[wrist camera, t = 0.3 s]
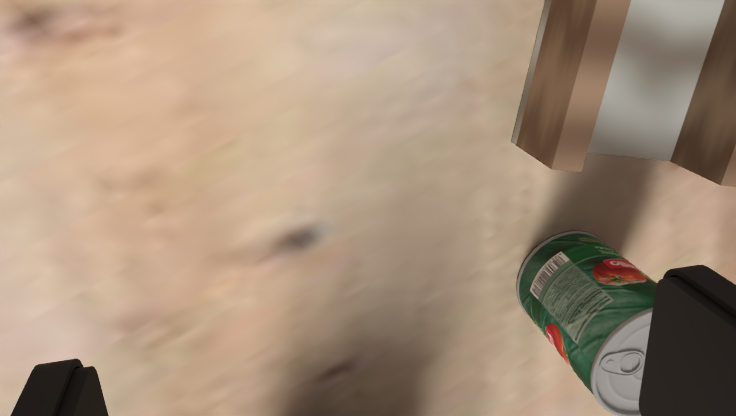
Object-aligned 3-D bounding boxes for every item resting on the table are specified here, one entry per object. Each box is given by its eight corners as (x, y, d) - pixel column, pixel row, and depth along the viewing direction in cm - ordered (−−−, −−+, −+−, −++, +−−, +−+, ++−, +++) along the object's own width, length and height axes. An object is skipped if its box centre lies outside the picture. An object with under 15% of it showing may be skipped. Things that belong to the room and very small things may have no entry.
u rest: (575, -122, 36) (633, -135, 31) (769, -79, 40) (851, -83, 34) (511, 142, 42) (551, 169, 36) (686, 160, 45) (746, 187, 40)
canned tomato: (625, 233, 47) (732, 310, 37) (595, 323, 49) (688, 417, 39) (529, 226, 45) (615, 305, 35) (504, 321, 47) (577, 419, 37)
